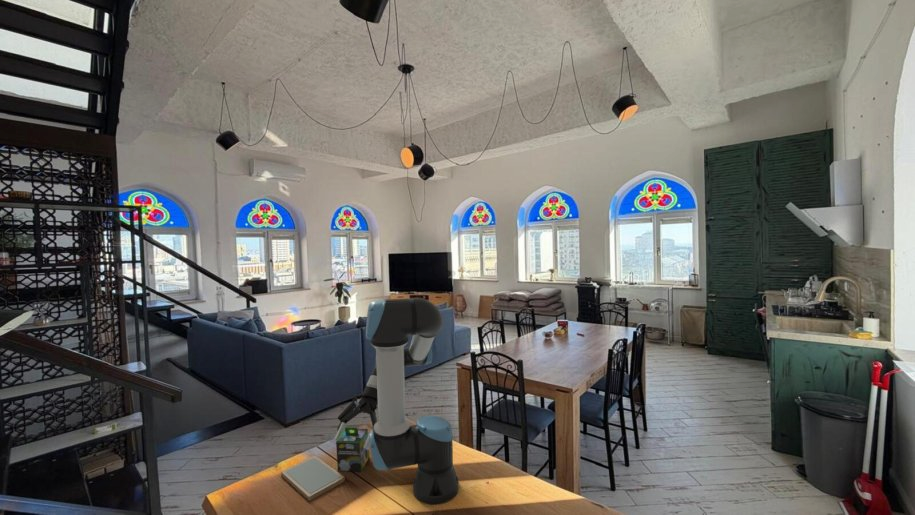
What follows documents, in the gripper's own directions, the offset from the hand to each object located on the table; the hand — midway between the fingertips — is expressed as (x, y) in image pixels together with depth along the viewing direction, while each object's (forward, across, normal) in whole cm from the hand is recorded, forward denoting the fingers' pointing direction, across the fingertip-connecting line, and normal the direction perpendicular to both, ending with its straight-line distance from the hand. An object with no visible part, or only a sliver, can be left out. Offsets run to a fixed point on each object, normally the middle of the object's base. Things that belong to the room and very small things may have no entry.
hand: (351, 445), depth 142 cm
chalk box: (+5, 0, -6) cm, 8 cm away
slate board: (+14, +8, +3) cm, 16 cm away
